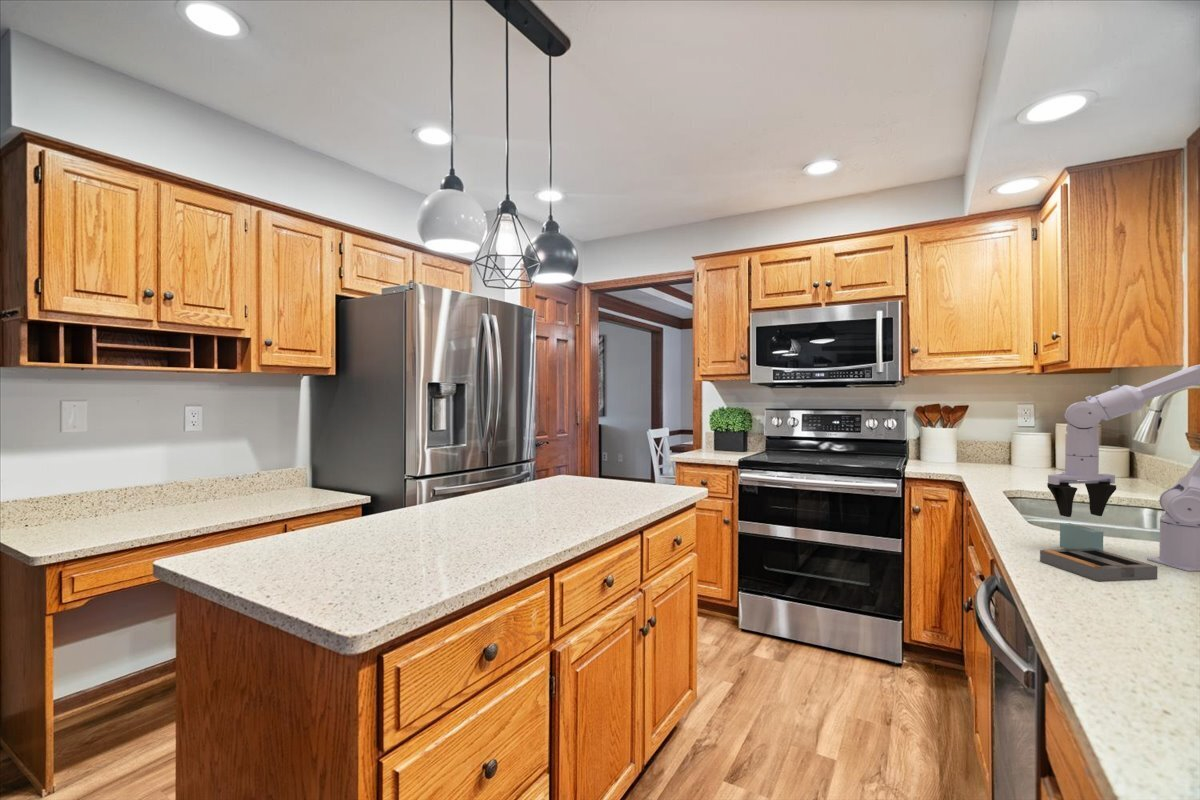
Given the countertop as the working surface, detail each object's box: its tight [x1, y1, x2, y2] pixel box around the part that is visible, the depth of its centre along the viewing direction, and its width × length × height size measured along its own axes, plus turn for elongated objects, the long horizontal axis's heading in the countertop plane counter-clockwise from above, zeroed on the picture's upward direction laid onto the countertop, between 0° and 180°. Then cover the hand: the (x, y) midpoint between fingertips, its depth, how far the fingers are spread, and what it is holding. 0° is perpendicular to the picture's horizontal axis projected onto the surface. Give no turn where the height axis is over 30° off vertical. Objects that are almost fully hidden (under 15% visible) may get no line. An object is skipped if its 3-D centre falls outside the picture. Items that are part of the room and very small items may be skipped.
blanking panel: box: [1059, 522, 1104, 551], centre depth 127 cm, size 2×8×6 cm, turn 5°
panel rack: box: [1039, 548, 1159, 582], centre depth 114 cm, size 13×13×3 cm
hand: (1080, 515), depth 127 cm, fingers open, 7 cm apart
